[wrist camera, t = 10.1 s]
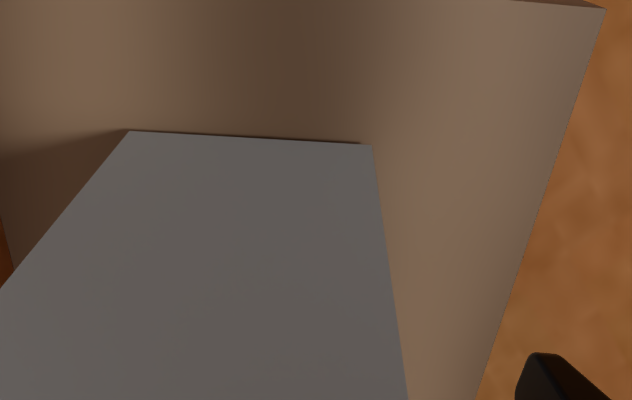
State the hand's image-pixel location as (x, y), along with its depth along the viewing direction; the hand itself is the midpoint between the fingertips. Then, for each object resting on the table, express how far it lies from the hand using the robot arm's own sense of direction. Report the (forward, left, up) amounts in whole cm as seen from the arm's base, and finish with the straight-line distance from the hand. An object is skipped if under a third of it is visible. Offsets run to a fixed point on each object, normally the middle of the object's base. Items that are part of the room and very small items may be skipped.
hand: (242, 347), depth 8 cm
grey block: (0, 0, -3) cm, 3 cm away
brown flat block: (0, 0, -6) cm, 6 cm away
